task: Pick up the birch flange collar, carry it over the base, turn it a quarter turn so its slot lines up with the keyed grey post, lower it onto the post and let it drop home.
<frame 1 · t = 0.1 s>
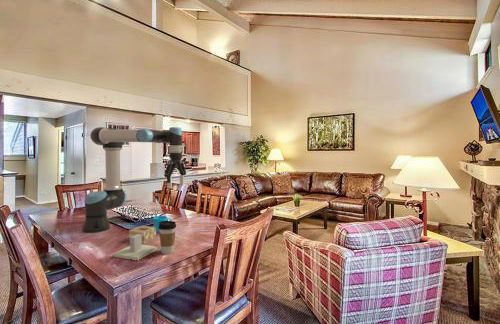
hand: (175, 186, 160), 28 cm above the table, fingers open, 13 cm apart
mug: (163, 229, 164), on the table
base: (136, 253, 127), on the table
coffee cup: (167, 252, 129), on the table
collar: (142, 239, 146), on the table
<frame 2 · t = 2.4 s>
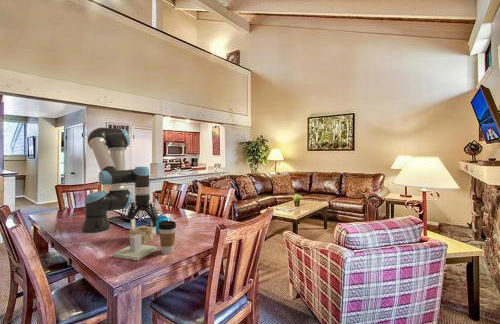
hand: (143, 231, 146), 5 cm above the table, fingers open, 13 cm apart
nothing on the table moved.
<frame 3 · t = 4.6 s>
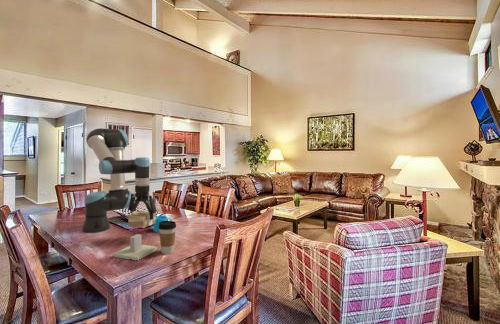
hand: (142, 223, 146), 9 cm above the table, fingers closed on collar, 10 cm apart
collar: (142, 224, 146), point 8 cm above the table, touching gripper
everything else where it was.
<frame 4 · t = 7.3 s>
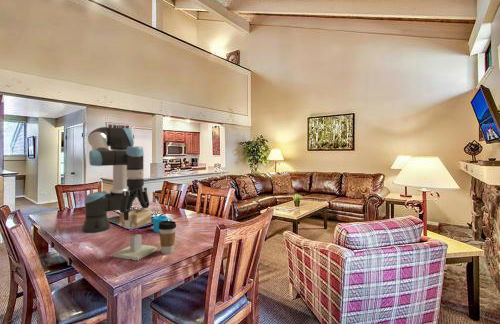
hand: (135, 223, 126), 15 cm above the table, fingers closed on collar, 10 cm apart
collar: (135, 223, 126), point 15 cm above the table, touching gripper
everything else where it was.
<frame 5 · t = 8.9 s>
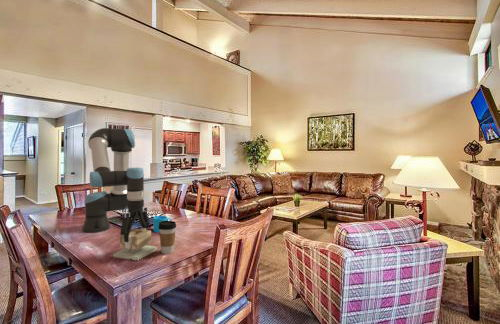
hand: (136, 244, 127), 4 cm above the table, fingers closed on collar, 10 cm apart
collar: (136, 244, 127), point 4 cm above the table, touching gripper
everything else where it was.
when the fingers open (3 cm above the table, at t = 10.4 s): collar drops 1 cm, resting on base.
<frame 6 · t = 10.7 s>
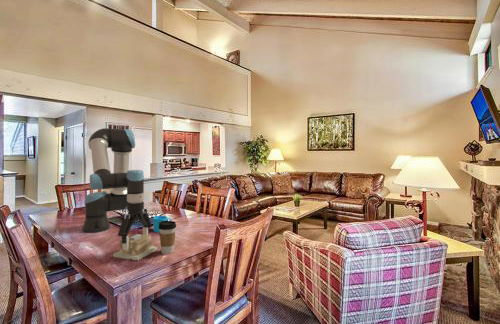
hand: (136, 244, 127), 4 cm above the table, fingers open, 13 cm apart
collar: (136, 249, 127), point 1 cm above the table, touching base
everything else where it was.
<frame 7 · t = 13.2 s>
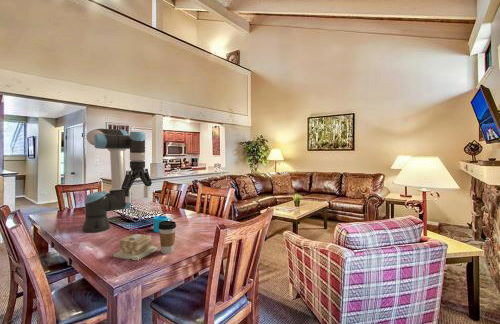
hand: (137, 200, 139), 24 cm above the table, fingers open, 13 cm apart
nothing on the table moved.
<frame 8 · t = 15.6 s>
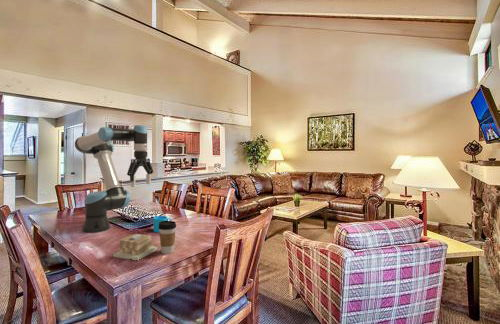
hand: (141, 185, 158), 29 cm above the table, fingers open, 13 cm apart
nothing on the table moved.
at the end: collar 0.1 cm off-centre on the base, point 1.5 cm above the base's base; the gripper is holding nothing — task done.
